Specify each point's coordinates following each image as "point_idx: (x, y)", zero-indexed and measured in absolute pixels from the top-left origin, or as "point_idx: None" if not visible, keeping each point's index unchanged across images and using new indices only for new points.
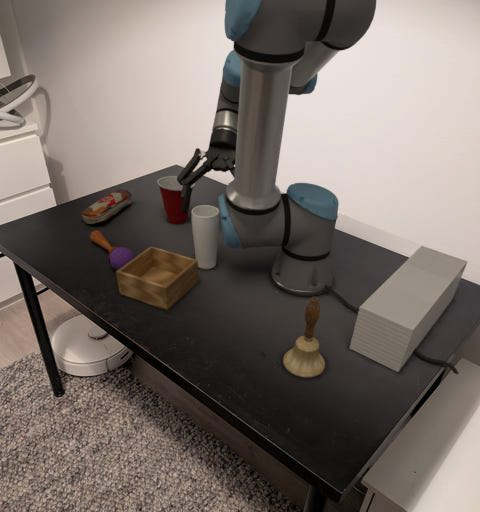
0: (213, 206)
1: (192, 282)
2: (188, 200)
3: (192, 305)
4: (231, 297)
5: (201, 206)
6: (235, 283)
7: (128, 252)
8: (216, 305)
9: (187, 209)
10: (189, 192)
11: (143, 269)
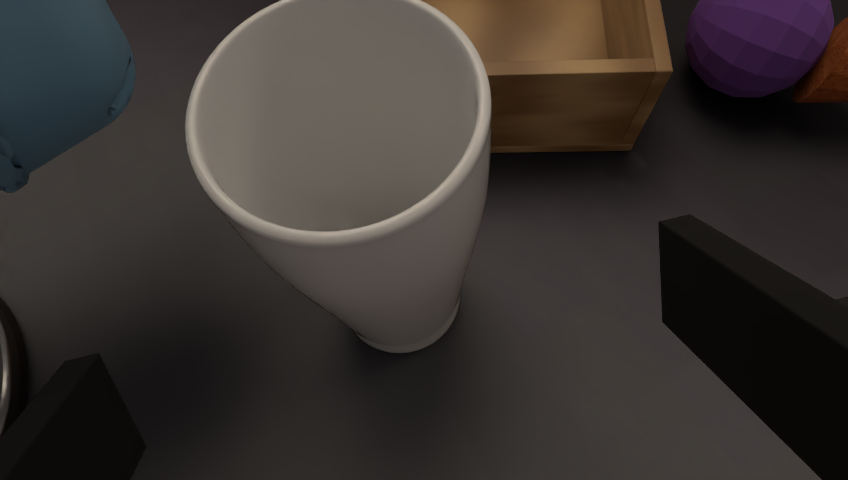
0: (300, 234)
1: None
2: (742, 353)
3: None
4: (180, 128)
5: (441, 184)
6: (195, 225)
7: (738, 2)
8: None
9: (683, 327)
10: (823, 395)
11: (616, 49)
